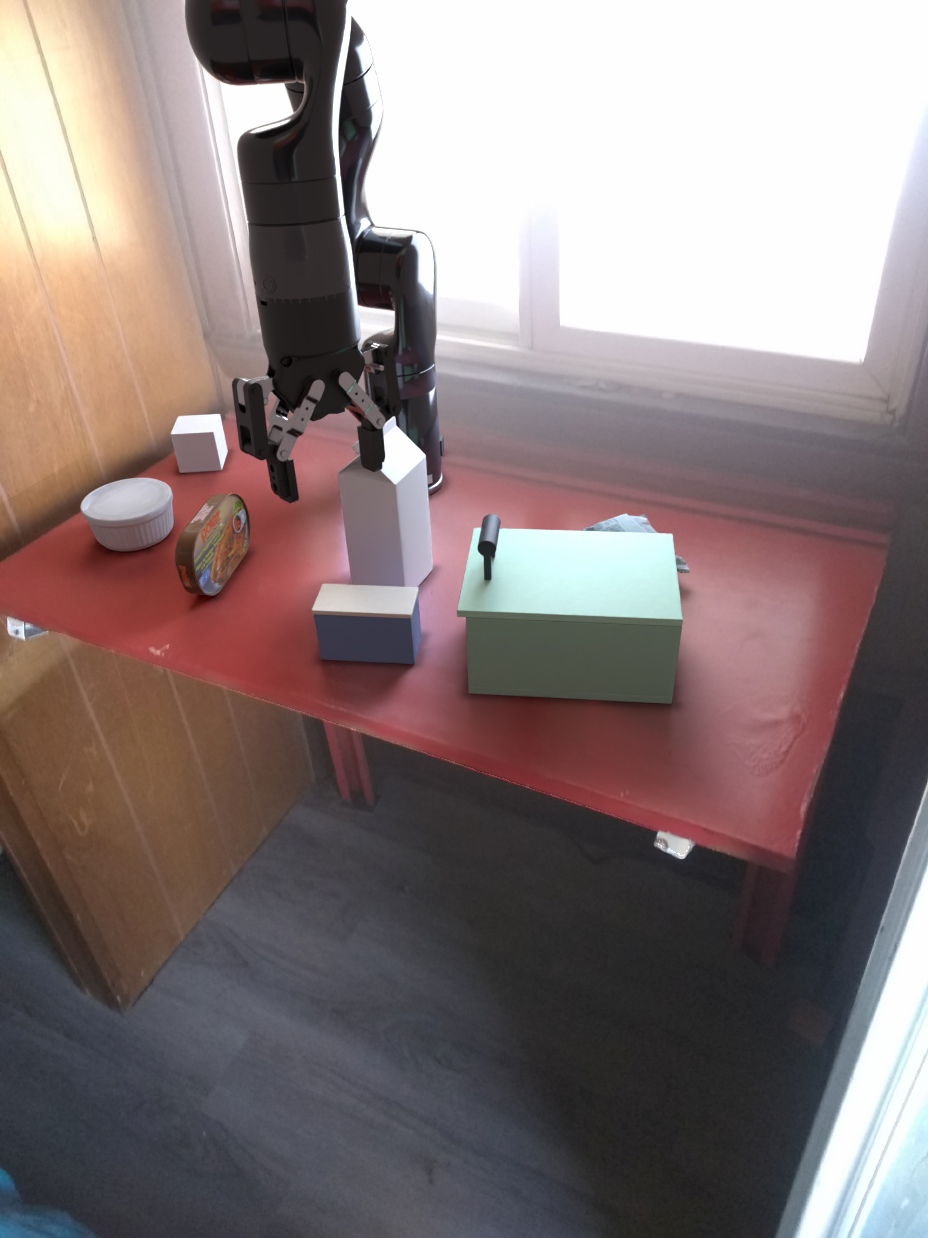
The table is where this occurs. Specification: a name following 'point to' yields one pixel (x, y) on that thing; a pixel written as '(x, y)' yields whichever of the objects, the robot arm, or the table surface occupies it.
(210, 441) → the white cube
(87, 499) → the ramekin
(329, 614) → the snack box
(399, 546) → the milk carton
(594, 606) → the lid
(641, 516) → the packaged food
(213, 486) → the table surface
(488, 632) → the box
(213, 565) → the tin
